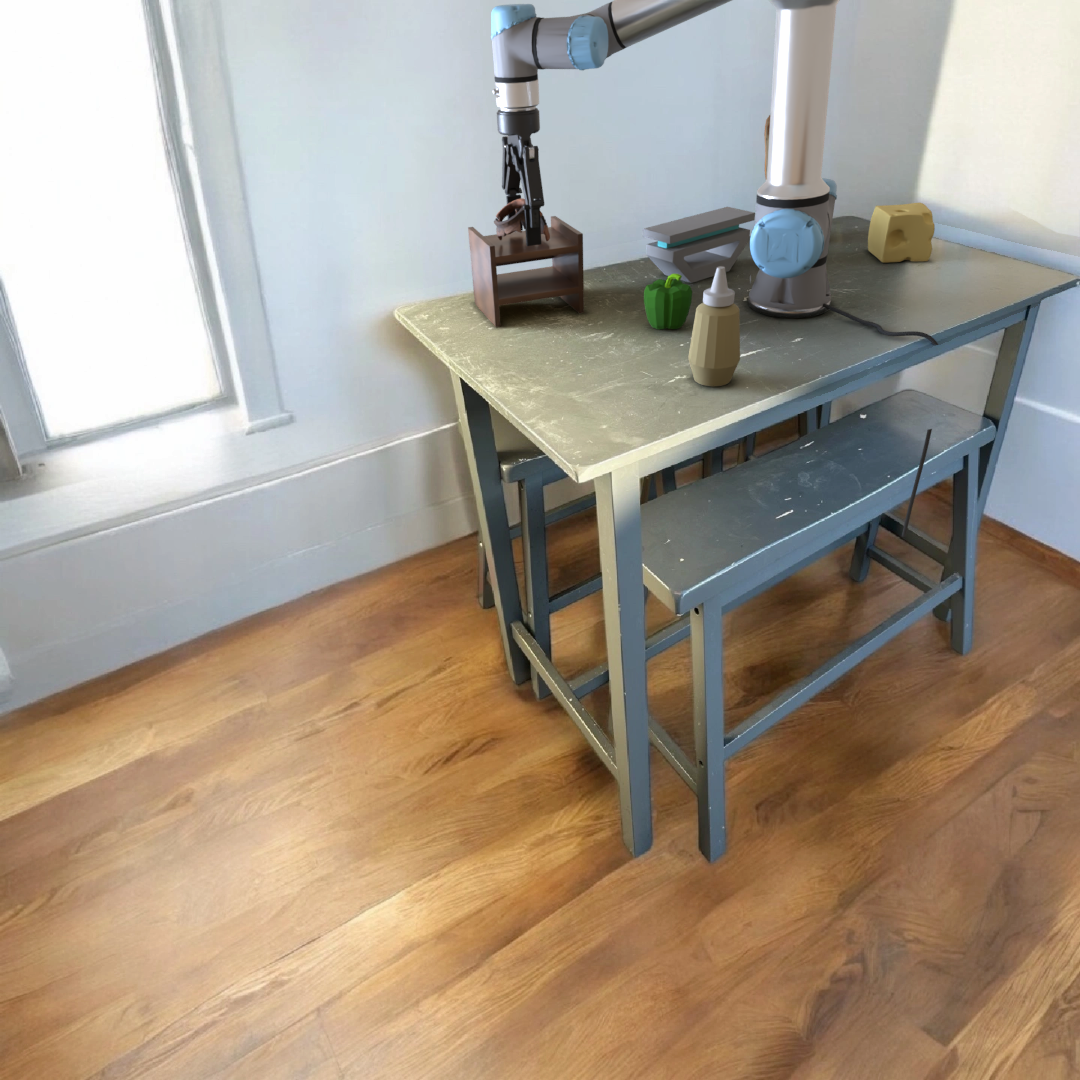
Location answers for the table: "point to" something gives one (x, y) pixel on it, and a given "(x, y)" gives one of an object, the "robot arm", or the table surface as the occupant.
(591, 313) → the table surface
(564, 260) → the shelf
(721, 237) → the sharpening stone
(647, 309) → the bell pepper
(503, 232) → the pottery mug
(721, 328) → the squeeze bottle
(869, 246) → the cheese
